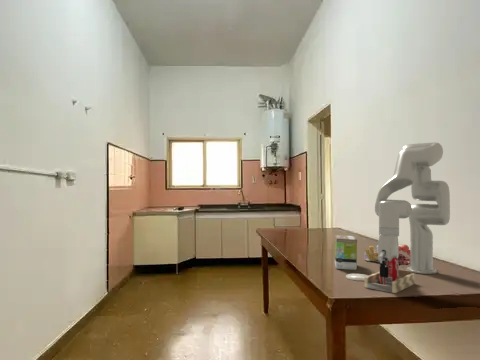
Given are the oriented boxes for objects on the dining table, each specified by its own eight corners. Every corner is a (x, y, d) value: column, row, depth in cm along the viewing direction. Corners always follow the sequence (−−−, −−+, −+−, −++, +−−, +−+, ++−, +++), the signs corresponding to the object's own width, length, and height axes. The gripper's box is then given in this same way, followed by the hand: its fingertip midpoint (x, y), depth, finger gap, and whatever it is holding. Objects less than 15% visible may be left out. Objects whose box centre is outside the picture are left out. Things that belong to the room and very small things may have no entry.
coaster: (352, 274, 173) (352, 272, 173) (374, 278, 166) (374, 276, 166) (341, 278, 166) (341, 276, 166) (363, 282, 159) (363, 280, 159)
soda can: (393, 283, 156) (393, 254, 157) (401, 288, 149) (401, 257, 149) (376, 283, 156) (376, 254, 156) (383, 288, 149) (383, 257, 149)
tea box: (357, 270, 182) (357, 238, 183) (335, 269, 184) (335, 238, 185) (354, 264, 197) (354, 235, 197) (334, 263, 199) (334, 234, 199)
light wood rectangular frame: (385, 278, 165) (385, 267, 165) (414, 283, 157) (414, 271, 157) (364, 287, 150) (364, 274, 150) (395, 293, 142) (395, 279, 142)
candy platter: (404, 267, 191) (404, 248, 191) (358, 261, 205) (358, 244, 205) (416, 260, 211) (416, 243, 211) (373, 255, 225) (373, 239, 225)
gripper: (388, 229, 162) (388, 270, 162) (370, 232, 149) (370, 277, 149) (406, 230, 157) (406, 273, 156) (389, 234, 144) (389, 280, 144)
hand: (389, 275), depth 153 cm, fingers open, 9 cm apart
